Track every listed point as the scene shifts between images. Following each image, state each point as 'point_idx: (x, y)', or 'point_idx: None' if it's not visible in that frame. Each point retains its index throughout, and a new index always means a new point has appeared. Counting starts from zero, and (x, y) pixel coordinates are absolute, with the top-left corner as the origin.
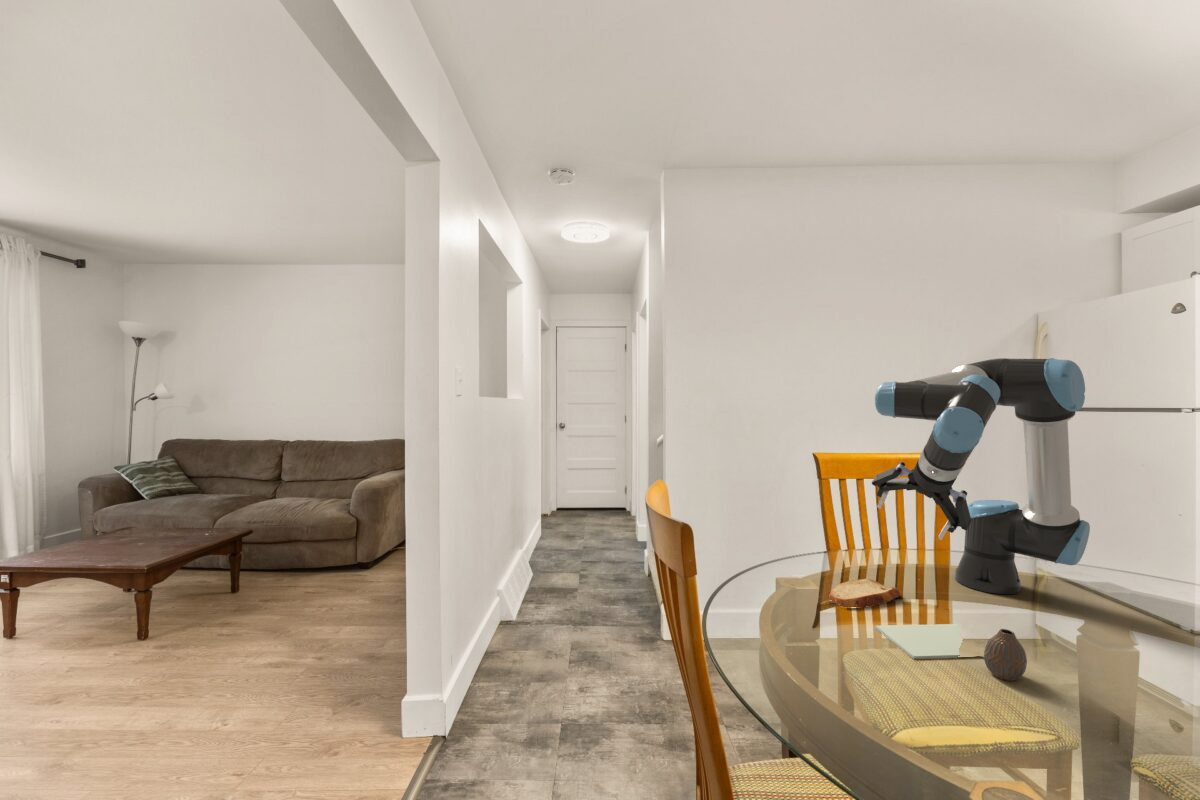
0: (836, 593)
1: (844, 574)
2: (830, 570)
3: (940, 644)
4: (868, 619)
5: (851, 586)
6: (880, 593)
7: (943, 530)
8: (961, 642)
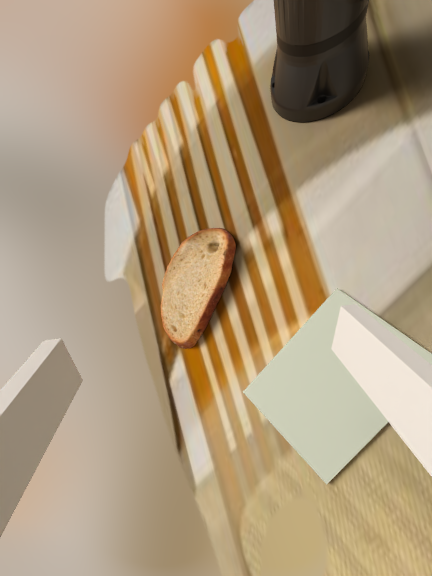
0: (169, 321)
1: (157, 221)
2: (141, 223)
3: (344, 400)
4: (226, 362)
5: (177, 279)
6: (216, 286)
7: (389, 416)
8: None
